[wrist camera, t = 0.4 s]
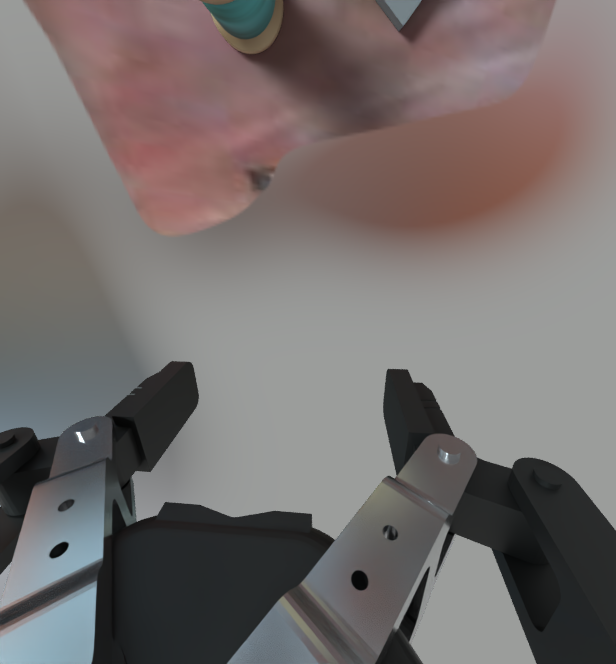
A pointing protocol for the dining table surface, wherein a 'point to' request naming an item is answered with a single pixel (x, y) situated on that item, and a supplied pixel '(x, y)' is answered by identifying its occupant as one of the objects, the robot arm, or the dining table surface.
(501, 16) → the dining table surface
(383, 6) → the white grey square tray
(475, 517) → the robot arm
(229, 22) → the spool
